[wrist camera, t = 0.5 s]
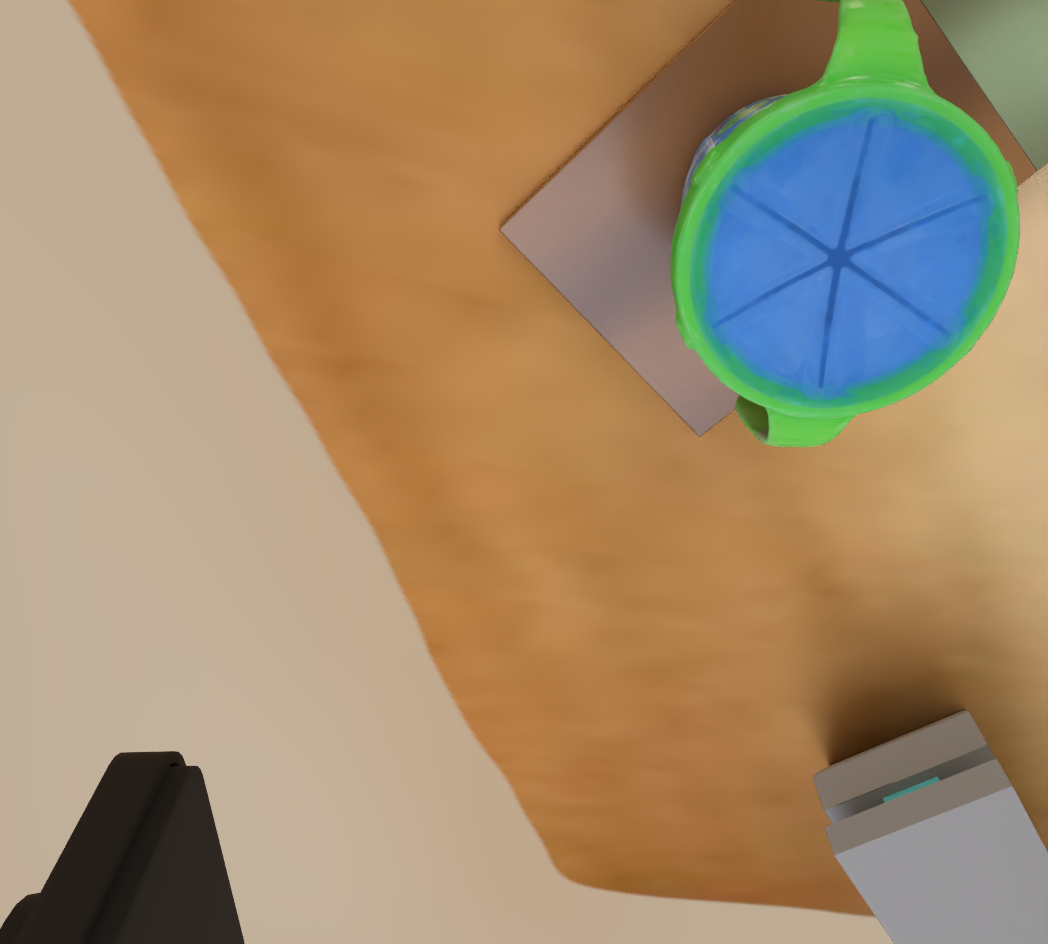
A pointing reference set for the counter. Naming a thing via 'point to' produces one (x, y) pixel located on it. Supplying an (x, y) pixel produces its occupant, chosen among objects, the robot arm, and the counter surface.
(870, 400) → the snack cup
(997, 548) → the counter surface
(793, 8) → the placemat
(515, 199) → the counter surface
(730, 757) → the counter surface
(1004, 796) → the sharpening stone
